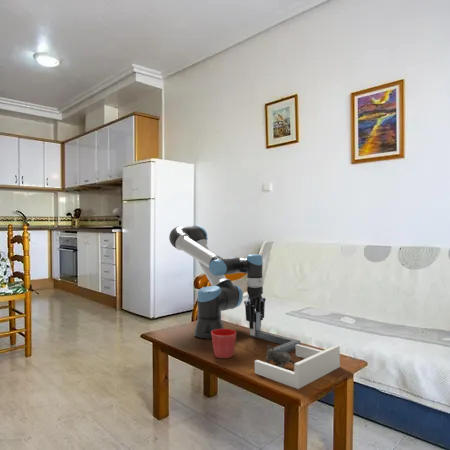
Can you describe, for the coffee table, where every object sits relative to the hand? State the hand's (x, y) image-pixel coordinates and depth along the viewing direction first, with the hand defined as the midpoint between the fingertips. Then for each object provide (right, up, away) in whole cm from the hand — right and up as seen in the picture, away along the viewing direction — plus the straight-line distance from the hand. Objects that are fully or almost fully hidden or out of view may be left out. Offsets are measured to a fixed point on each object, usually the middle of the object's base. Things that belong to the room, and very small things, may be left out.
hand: (255, 334), depth 182 cm
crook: (+2, -1, -14) cm, 14 cm away
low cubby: (+12, -1, -43) cm, 45 cm away
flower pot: (-15, -1, -26) cm, 30 cm away
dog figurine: (+6, -1, -40) cm, 40 cm away
